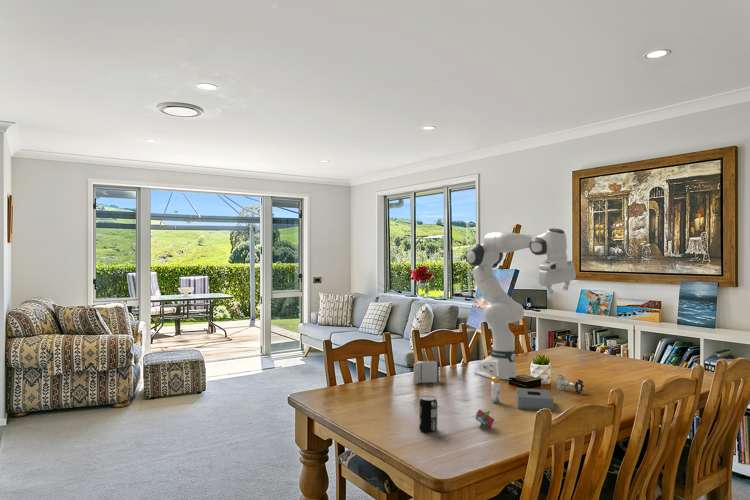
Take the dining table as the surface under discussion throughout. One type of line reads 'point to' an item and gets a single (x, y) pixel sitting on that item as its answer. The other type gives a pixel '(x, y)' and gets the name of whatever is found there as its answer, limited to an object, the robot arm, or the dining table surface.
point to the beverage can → (428, 414)
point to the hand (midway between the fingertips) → (558, 292)
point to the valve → (568, 384)
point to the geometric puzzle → (484, 419)
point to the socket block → (534, 399)
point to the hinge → (426, 371)
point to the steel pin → (495, 389)
